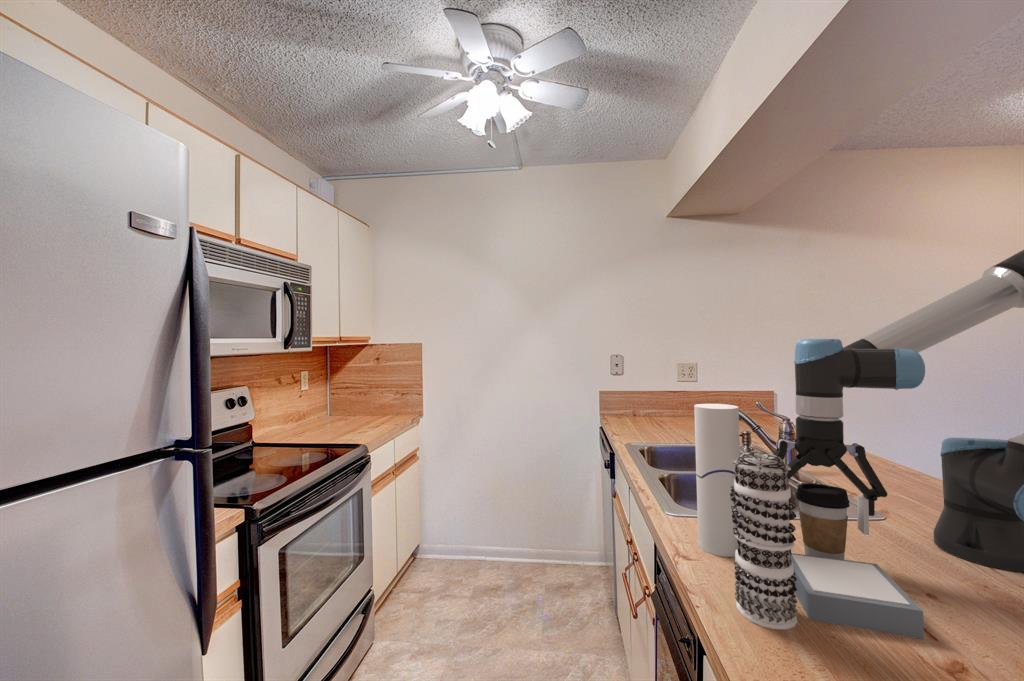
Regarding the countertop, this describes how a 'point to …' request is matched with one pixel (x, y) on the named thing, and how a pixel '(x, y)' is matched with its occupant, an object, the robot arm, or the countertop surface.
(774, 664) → the countertop surface
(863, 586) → the podium
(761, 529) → the decorative candle
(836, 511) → the coffee cup
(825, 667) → the countertop surface
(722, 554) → the container
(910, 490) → the countertop surface
